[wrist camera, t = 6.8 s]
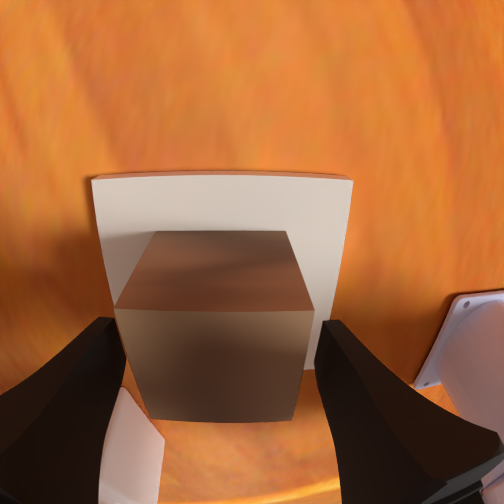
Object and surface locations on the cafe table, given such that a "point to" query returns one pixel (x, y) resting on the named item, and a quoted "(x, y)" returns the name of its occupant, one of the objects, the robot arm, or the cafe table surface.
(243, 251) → the walnut block
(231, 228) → the cream square tile
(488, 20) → the cafe table surface
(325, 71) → the cafe table surface
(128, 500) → the medicine bottle
